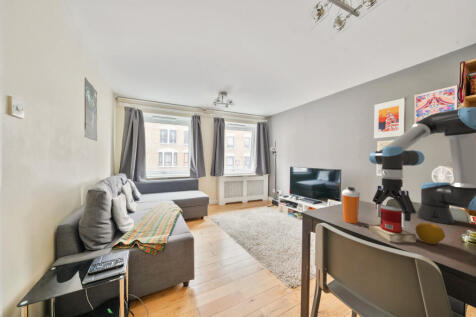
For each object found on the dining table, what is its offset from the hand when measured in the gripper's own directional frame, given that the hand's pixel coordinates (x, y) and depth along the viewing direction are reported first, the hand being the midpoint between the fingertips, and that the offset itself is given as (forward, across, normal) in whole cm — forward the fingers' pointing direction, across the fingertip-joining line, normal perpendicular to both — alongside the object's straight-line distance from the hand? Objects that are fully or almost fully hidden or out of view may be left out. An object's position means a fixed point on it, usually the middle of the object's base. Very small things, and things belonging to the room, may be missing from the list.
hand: (391, 221), depth 84 cm
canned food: (+4, 0, 0) cm, 4 cm away
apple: (+7, +7, +11) cm, 15 cm away
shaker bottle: (+7, -19, -7) cm, 21 cm away
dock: (+7, 0, 0) cm, 7 cm away
